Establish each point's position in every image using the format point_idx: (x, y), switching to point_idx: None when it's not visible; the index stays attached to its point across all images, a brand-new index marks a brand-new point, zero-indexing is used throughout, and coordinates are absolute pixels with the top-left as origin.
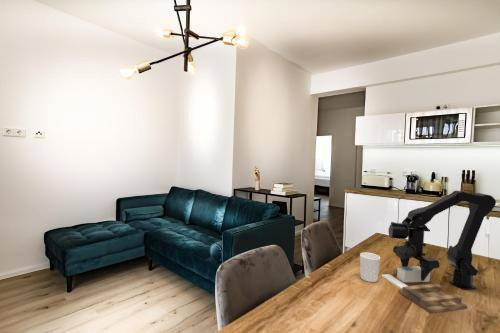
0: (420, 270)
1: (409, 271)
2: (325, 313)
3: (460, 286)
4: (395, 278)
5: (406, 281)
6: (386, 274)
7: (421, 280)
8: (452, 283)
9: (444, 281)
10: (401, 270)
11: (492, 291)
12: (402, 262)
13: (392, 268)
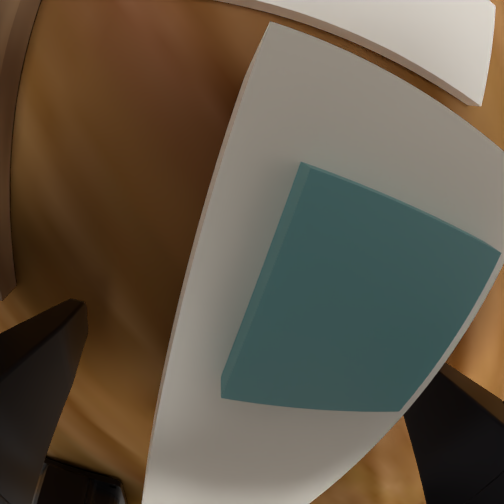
0: (164, 469)
1: (208, 217)
2: None
3: (45, 463)
4: (370, 31)
5: (231, 116)
6: (487, 62)
7: (166, 355)
8: (95, 474)
9: (136, 473)
10: (411, 95)
11: None
12: (500, 416)
13: (496, 322)
